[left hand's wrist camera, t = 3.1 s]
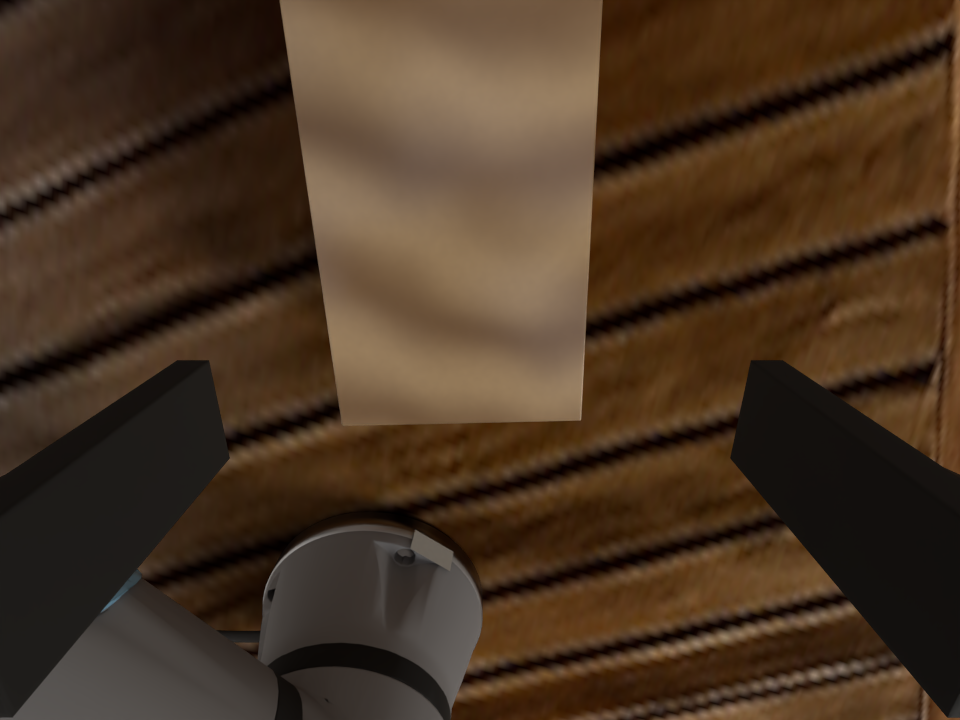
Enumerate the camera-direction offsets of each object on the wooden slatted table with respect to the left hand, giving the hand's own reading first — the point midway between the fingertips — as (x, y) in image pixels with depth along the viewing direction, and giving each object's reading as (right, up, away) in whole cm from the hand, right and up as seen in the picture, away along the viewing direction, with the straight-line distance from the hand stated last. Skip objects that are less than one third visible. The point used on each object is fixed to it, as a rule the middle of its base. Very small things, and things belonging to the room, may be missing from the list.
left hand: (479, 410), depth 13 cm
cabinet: (-1, +12, +14) cm, 18 cm away
